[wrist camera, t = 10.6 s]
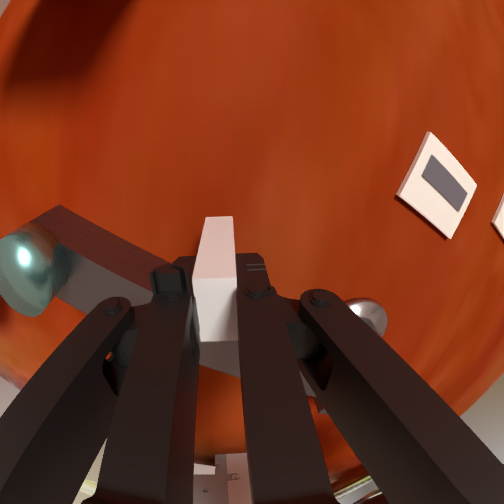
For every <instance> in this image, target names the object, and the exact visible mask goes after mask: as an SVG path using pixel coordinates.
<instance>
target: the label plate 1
mask: <svg viewBox="0 0 504 504" xmlns="http://www.w3.org/2000/svg"><path fill="white" fill-rule="evenodd" d="M476 187H477V185H476V183H475V182H474V181H473V179H472V178H471V177H470V176H469V174H468V173H467V172H466V171H465V169H464V168H463V167H462V166H461V165H460V163H459V162H458V161H457V160H456V159H455V158H454V156H453V155H452V154H451V153H450V152H449V151H448V150H447V149H446V147H445V146H444V145H443V144H442V143H441V142H440V141H439V140H438V139H437V138H436V137H435V136H434V135H433V134H432V133H431V132H426V135H425V137H424V139H423V141H422V143H421V145H420V148H419V150H418V152H417V154H416V156H415V158H414V160H413V162H412V164H411V166H410V168H409V170H408V172H407V174H406V176H405V178H404V180H403V182H402V184H401V186H400V187H399V189H398V191H397V193H396V195H397V196H399V197H400V198H401V199H403V200H404V201H405V202H406V203H408V204H409V205H410V206H411V207H413V208H414V209H415V210H416V211H418V212H419V213H420V214H421V215H422V216H424V217H425V218H426V219H427V220H428V221H429V222H431V223H432V224H433V225H434V226H435V227H436V228H437V229H439V230H440V231H441V232H442V233H443V234H444V235H445V236H446V237H448V238H449V239H451V237H452V236H453V234H454V232H455V230H456V228H457V226H458V224H459V222H460V220H461V219H462V217H463V215H464V213H465V210H466V208H467V206H468V204H469V202H470V200H471V198H472V196H473V193H474V191H475V189H476Z"/></svg>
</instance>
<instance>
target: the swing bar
mask: <svg viewBox="0 0 504 504" xmlns="http://www.w3.org/2000/svg"><path fill="white" fill-rule="evenodd" d="M165 264H171V263H169V262H167V261H165V260H163V259H161V258H159V257H157V256H155V255H153V254H151V253H149V252H147V251H145V250H143V249H141V248H139V247H137V246H135V245H133V244H131V243H130V242H128V241H126V240H124V239H122V238H120V237H118V236H116V235H114V234H112V233H110V232H108V231H107V230H105V229H103V228H101V227H99V226H97V225H95V224H94V223H92V222H90V221H88V220H86V219H84V218H83V217H81V216H79V215H77V214H75V213H74V212H72V211H70V210H68V209H66V208H65V207H63V206H61V205H58V206H56V207H54V208H52V209H50V210H49V211H47V212H45V213H43V214H42V215H40V216H38V217H37V218H35V219H33V220H32V221H30V222H28V223H26V224H24V225H22V226H21V227H19V228H17V229H16V230H14V231H13V232H11V233H10V234H8V235H7V236H5V237H4V238H2V239H1V240H0V295H1V296H2V297H3V299H4V300H5V301H6V302H7V303H8V305H10V306H11V307H12V308H13V309H14V310H16V311H17V312H19V313H20V314H22V315H25V316H29V317H34V316H38V315H40V314H41V313H42V312H43V311H44V310H45V308H46V307H47V306H48V304H49V303H50V302H51V301H52V299H53V298H54V297H55V296H56V297H58V298H59V299H61V300H63V301H64V302H66V303H68V304H70V305H71V306H73V307H75V308H77V309H78V310H80V311H82V312H84V313H86V314H89V313H90V312H91V311H92V310H93V309H94V308H95V307H96V306H97V305H98V304H99V303H100V302H101V301H103V300H105V299H107V298H110V297H124V298H127V299H128V300H129V301H130V302H131V306H132V307H134V306H139V305H143V304H147V303H150V302H151V300H152V297H153V292H152V287H151V282H150V277H149V273H150V272H151V271H152V270H153V269H154V268H156V267H158V266H162V265H165ZM199 348H200V359H199V364H200V365H203V366H206V367H208V368H211V369H214V370H217V371H220V372H223V373H226V374H229V375H233V376H236V377H239V378H240V364H239V350H238V340H237V341H206V342H201V340H200V334H199ZM299 371H300V370H299ZM300 374H301V378H302V381H303V385H304V388H305V392H306V395H308V396H313V397H314V400H315V403H316V407H317V410H318V413H321V414H328V413H327V412H326V410H325V408H324V407H323V405H322V404H321V402H320V401H319V399H318V398H317V396H316V395H315V393H314V392H313V390H312V389H311V387H310V386H309V384H308V383H307V381H306V379H305V378H304V376H303V375H302V373H301V372H300Z"/></svg>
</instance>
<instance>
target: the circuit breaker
mask: <svg viewBox="0 0 504 504" xmlns="http://www.w3.org/2000/svg"><path fill="white" fill-rule="evenodd" d="M215 465H216V469H215V475H193V504H252V501H251V491H250V481H249V471H248V461H247V453H235V454H216V455H215Z"/></svg>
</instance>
